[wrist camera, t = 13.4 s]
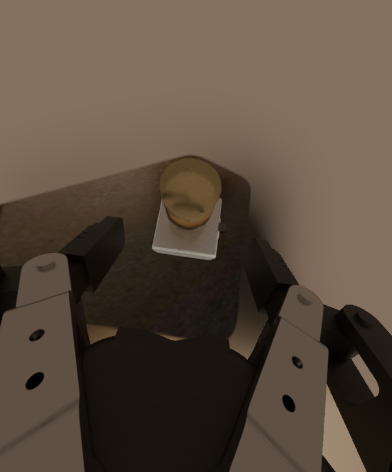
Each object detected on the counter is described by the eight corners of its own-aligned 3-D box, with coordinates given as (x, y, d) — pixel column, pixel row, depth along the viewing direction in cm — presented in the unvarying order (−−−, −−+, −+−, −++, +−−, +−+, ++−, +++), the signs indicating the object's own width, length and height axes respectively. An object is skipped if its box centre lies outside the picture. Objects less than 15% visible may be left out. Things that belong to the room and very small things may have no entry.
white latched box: (157, 252, 28) (152, 248, 23) (166, 203, 30) (163, 190, 25) (211, 260, 28) (217, 258, 23) (216, 211, 30) (223, 199, 25)
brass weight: (167, 237, 22) (155, 210, 13) (172, 203, 23) (163, 154, 14) (204, 241, 23) (219, 218, 13) (206, 207, 24) (223, 162, 14)
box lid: (157, 249, 26) (153, 245, 22) (167, 201, 28) (164, 188, 24) (217, 258, 27) (224, 256, 22) (222, 210, 28) (229, 199, 24)
